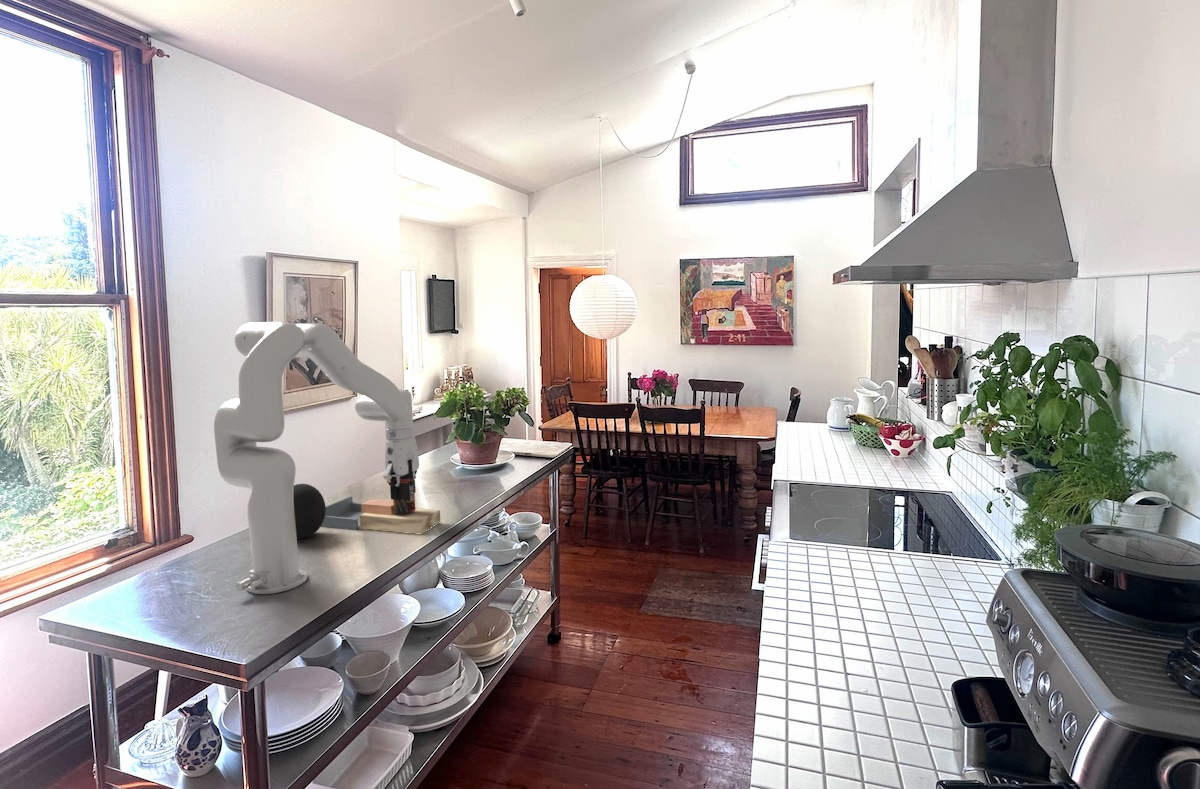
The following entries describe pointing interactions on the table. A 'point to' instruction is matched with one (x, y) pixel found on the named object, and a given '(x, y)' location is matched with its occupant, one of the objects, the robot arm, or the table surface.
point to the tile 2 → (385, 507)
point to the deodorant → (406, 492)
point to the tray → (343, 514)
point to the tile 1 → (370, 505)
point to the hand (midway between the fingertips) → (403, 495)
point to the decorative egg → (308, 510)
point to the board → (401, 521)
